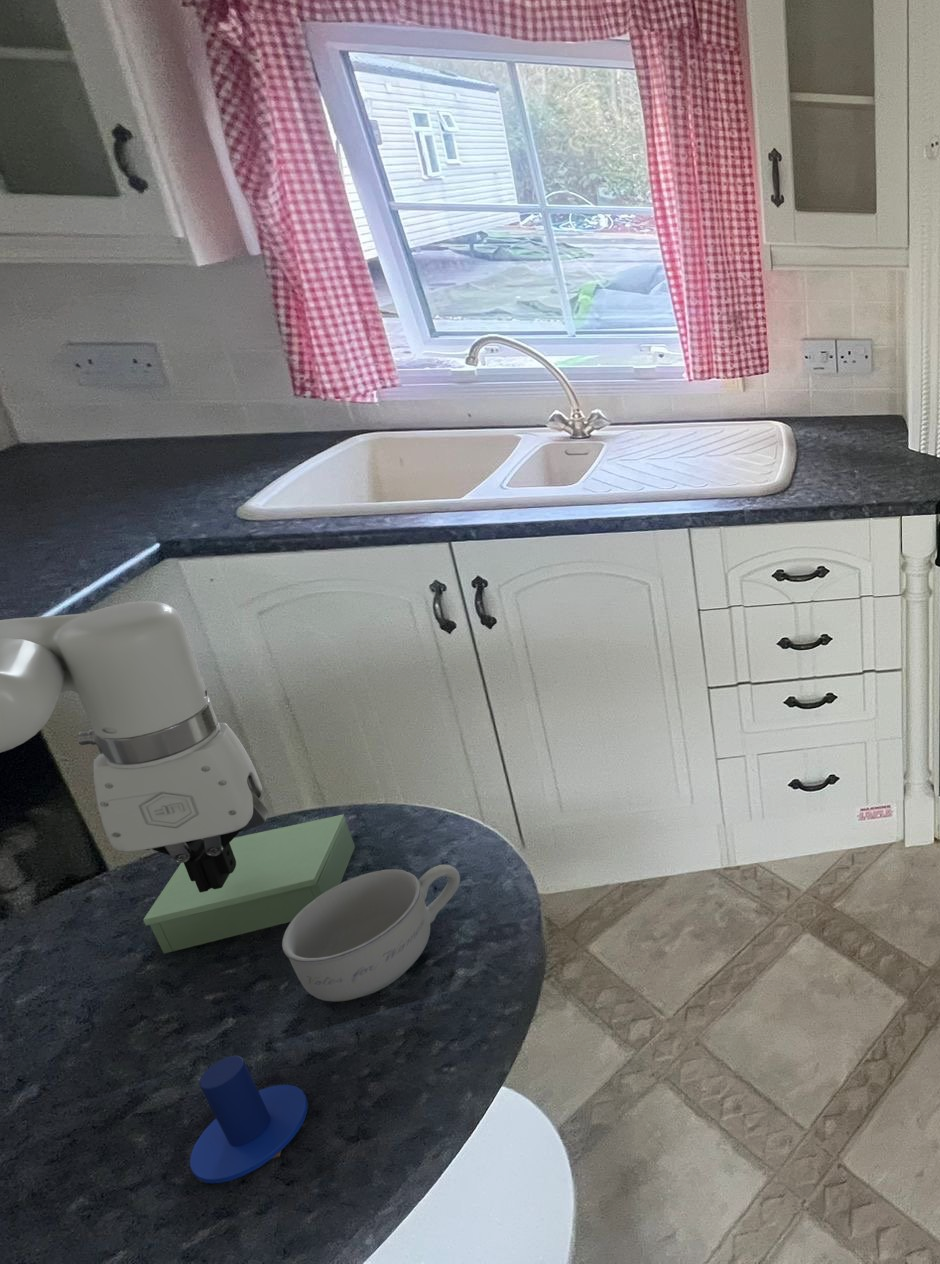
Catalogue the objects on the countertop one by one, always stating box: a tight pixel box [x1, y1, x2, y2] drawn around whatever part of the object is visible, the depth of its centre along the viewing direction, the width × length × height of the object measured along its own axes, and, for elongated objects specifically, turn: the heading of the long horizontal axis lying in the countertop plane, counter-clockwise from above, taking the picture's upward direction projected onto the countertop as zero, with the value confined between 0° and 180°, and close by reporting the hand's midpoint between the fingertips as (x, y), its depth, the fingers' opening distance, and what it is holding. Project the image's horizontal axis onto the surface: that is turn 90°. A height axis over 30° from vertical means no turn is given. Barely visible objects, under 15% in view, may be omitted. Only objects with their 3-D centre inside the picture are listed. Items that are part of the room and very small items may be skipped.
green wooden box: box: [149, 819, 356, 954], centre depth 88 cm, size 10×13×5 cm
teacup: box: [281, 864, 461, 1002], centre depth 82 cm, size 14×11×8 cm
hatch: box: [142, 813, 346, 926], centre depth 87 cm, size 10×13×1 cm
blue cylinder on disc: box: [189, 1055, 309, 1184], centre depth 66 cm, size 7×7×8 cm
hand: (217, 879), depth 83 cm, fingers closed
